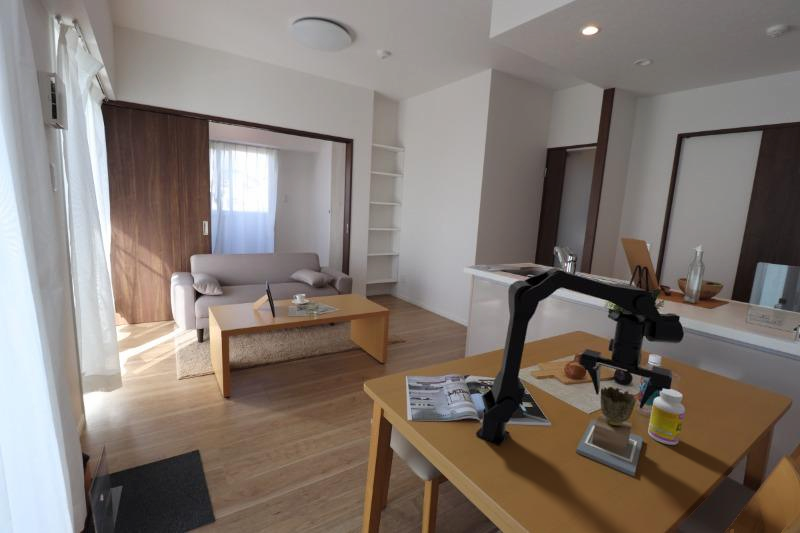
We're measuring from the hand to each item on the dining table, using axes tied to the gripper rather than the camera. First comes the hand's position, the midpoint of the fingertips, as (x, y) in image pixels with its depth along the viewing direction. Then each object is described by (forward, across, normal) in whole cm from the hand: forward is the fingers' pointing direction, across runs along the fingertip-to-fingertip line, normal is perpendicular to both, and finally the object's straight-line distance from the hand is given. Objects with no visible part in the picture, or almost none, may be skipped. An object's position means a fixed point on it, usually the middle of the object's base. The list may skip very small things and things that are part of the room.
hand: (618, 400), depth 90 cm
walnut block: (+11, 0, 0) cm, 11 cm away
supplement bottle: (+13, -10, -14) cm, 21 cm away
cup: (+6, 0, 0) cm, 7 cm away
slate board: (+12, 0, 0) cm, 12 cm away
